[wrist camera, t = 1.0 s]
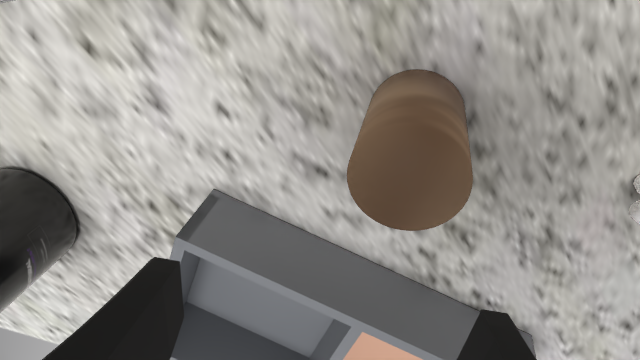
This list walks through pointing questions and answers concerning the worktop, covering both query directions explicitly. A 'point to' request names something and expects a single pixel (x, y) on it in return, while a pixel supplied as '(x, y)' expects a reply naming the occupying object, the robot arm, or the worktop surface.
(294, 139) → the worktop surface
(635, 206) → the marshmallow
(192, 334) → the organiser
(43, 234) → the supplement bottle
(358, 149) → the walnut cylinder
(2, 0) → the travel mug
